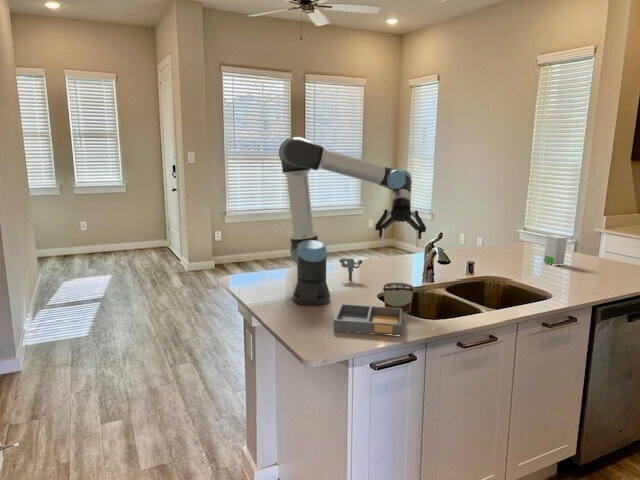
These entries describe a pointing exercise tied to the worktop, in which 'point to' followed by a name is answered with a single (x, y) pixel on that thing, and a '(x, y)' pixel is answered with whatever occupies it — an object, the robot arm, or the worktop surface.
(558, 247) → the skincare box
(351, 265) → the mechanical component
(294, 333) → the worktop surface
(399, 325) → the organizer
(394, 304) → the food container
